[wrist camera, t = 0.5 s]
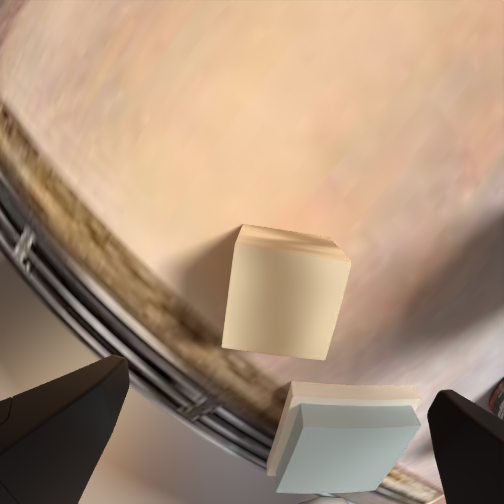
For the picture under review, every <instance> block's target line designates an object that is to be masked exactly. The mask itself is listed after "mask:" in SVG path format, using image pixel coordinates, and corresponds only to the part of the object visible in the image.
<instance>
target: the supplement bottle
mask: <svg viewBox="0 0 504 504" xmlns="http://www.w3.org/2000/svg"><path fill="white" fill-rule="evenodd" d="M490 410H491V411H492V413H493V414H494V415H495V416H497V417H498V418H500V419H502V420H503V421H504V380H503V381H502V382H501V383H500V384H499V386H498V387H497V389H496V390H495V391H494V393H493V395H492V398H491V400H490Z"/></svg>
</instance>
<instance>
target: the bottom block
mask: <svg viewBox="0 0 504 504" xmlns="http://www.w3.org/2000/svg"><path fill="white" fill-rule="evenodd" d="M421 399H422V398H421V396H420V395H419V393H418V391H417V389H416V388H415V386H365V385H341V384H324V383H311V382H299V381H291V384H290V388H289V391H288V395H287V398H286V402H285V405H284V409H283V412H282V416H281V419H280V422H279V425H278V429H277V432H276V435H275V438H274V441H273V445H272V448H271V451H270V454H269V457H268V460H267V476H276V470H277V467H278V465H279V462H280V460H281V457H282V454H283V452H284V449H285V446H286V444H287V441H288V438H289V436H290V433H291V430H292V427H293V425H294V422H295V419H296V416H297V413H298V410H299V407H300V404H301V403H305V404H319V405H339V406H406V405H411V406H412V408H413V410H414V412H415V410H416V408H417V407H418V405H419V403H420V401H421Z"/></svg>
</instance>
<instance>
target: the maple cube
mask: <svg viewBox="0 0 504 504" xmlns="http://www.w3.org/2000/svg"><path fill="white" fill-rule="evenodd" d="M351 263H352V262H351V261H350V260H349V259H348V258H347V257H346V255H345V254H344V253H343V252H342V251H341V250H340V249H339V248H338V246H337V245H336V244H335V243H334V242H333V241H332V240H331V239H330V238H329V237H323V236H316V235H310V234H304V233H298V232H292V231H285V230H279V229H272V228H266V227H259V226H253V225H246V224H243V226H242V228H241V230H240V233H239V235H238V238H237V240H236V243H235V246H234V254H233V261H232V269H231V277H230V284H229V292H228V300H227V308H226V316H225V324H224V332H223V340H222V347H223V348H229V349H235V350H242V351H249V352H256V353H263V354H271V355H279V356H287V357H296V358H306V359H317V360H325V359H326V356H327V352H328V349H329V346H330V342H331V339H332V336H333V332H334V329H335V325H336V322H337V318H338V314H339V311H340V307H341V303H342V299H343V296H344V292H345V288H346V284H347V280H348V275H349V271H350V267H351Z"/></svg>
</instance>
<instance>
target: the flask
mask: <svg viewBox="0 0 504 504" xmlns="http://www.w3.org/2000/svg"><path fill="white" fill-rule="evenodd" d="M299 504H349V503H348V502H346V501H345V500H344V499H343V498H334V497H318V498H315V499H312V500H309V501H306V502H302V503H299Z"/></svg>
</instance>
